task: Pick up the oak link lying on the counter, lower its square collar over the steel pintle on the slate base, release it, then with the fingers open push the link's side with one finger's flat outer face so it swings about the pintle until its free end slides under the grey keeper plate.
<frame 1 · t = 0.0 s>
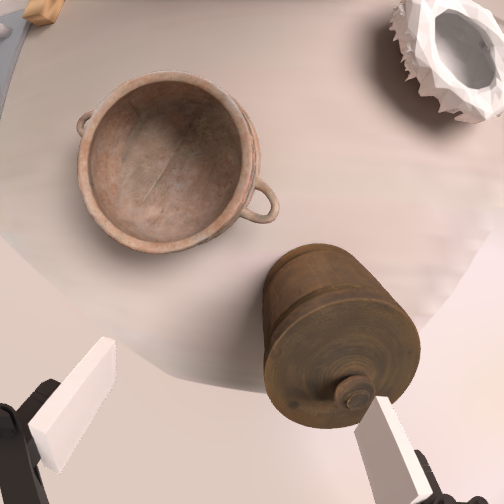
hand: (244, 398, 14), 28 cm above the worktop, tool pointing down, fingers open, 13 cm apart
cooking pot: (186, 163, 38), on the worktop
wooden container: (316, 295, 42), on the worktop
pintle base: (13, 35, 32), on the worktop
bowl: (438, 63, 33), on the worktop
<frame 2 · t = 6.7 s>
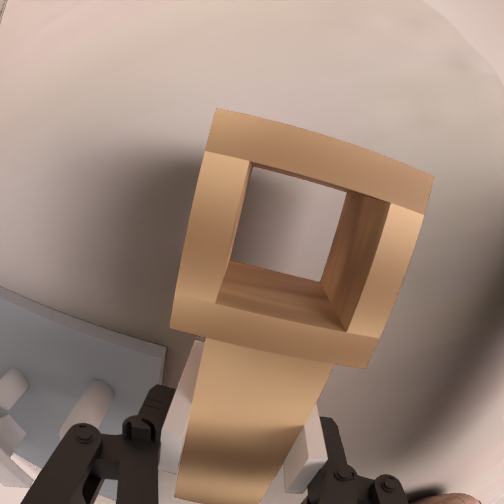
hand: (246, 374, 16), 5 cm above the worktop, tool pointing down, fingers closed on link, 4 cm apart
link: (246, 370, 16), point 5 cm above the worktop, touching gripper
pintle base: (109, 379, 22), on the worktop
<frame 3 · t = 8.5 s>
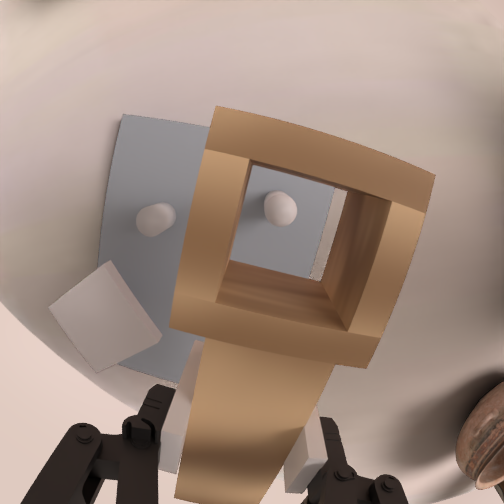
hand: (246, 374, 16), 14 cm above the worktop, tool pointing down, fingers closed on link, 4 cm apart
cooking pot: (488, 402, 34), on the worktop
link: (246, 370, 16), point 14 cm above the worktop, touching gripper
pintle base: (276, 201, 28), on the worktop
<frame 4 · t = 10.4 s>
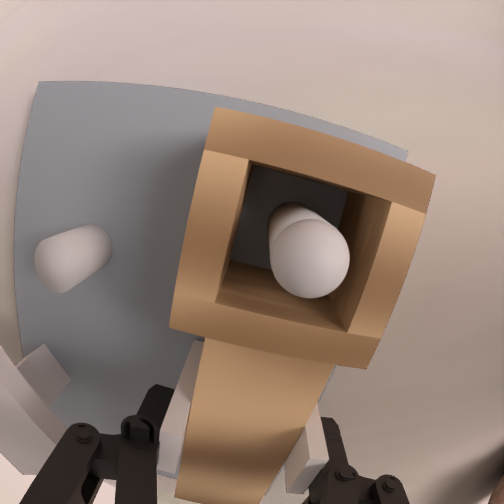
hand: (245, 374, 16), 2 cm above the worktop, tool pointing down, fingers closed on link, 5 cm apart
link: (247, 370, 16), point 1 cm above the worktop, touching gripper, pintle base
pintle base: (289, 221, 15), on the worktop
when the fingers open (2 cm above the worktop, at t = 10.4 s): link stays where it is, resting on pintle base.
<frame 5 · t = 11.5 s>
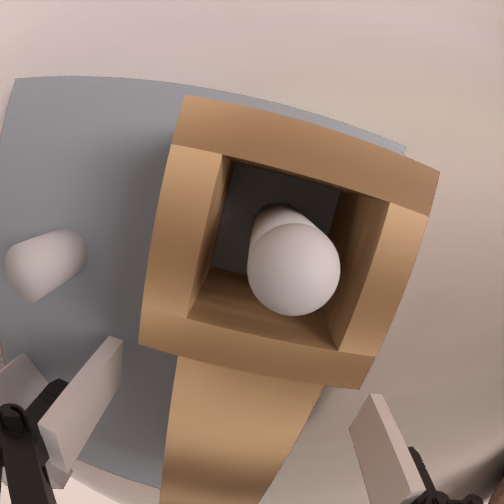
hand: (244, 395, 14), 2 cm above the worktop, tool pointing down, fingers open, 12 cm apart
link: (232, 383, 15), point 1 cm above the worktop, touching pintle base
pintle base: (275, 223, 14), on the worktop
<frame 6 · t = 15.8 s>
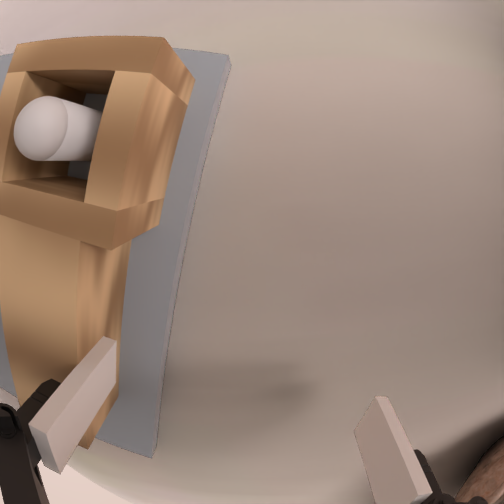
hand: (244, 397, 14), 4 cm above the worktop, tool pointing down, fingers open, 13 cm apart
cooking pot: (498, 449, 21), on the worktop
link: (88, 289, 15), point 1 cm above the worktop, touching gripper, pintle base
pintle base: (125, 141, 15), on the worktop
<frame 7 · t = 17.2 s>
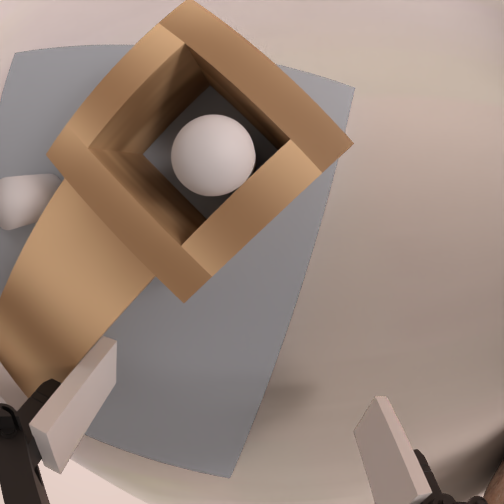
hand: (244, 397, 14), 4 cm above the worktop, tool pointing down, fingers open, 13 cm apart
link: (102, 270, 15), point 2 cm above the worktop, touching gripper, pintle base
pintle base: (234, 163, 15), on the worktop
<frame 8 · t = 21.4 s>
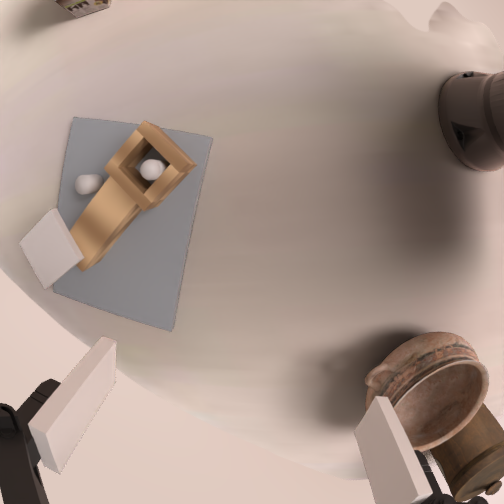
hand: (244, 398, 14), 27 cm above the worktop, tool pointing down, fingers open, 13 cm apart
cooking pot: (408, 365, 44), on the worktop
wooden container: (453, 420, 47), on the worktop
link: (118, 212, 37), point 1 cm above the worktop, touching pintle base
pintle base: (169, 170, 37), on the worktop
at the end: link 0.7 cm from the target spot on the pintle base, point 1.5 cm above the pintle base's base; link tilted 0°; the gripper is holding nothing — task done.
